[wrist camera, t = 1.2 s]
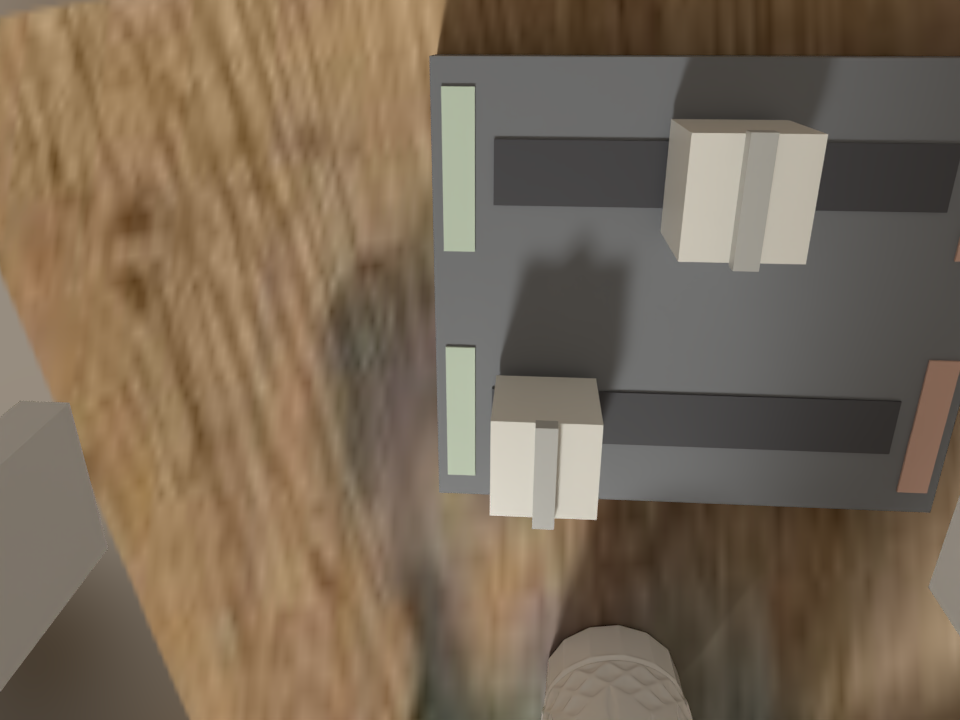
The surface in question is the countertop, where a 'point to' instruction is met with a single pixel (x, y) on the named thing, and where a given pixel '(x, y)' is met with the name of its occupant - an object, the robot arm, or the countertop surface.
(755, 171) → the breaker
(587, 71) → the switch panel
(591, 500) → the block
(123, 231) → the countertop surface
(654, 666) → the white cup
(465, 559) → the countertop surface
